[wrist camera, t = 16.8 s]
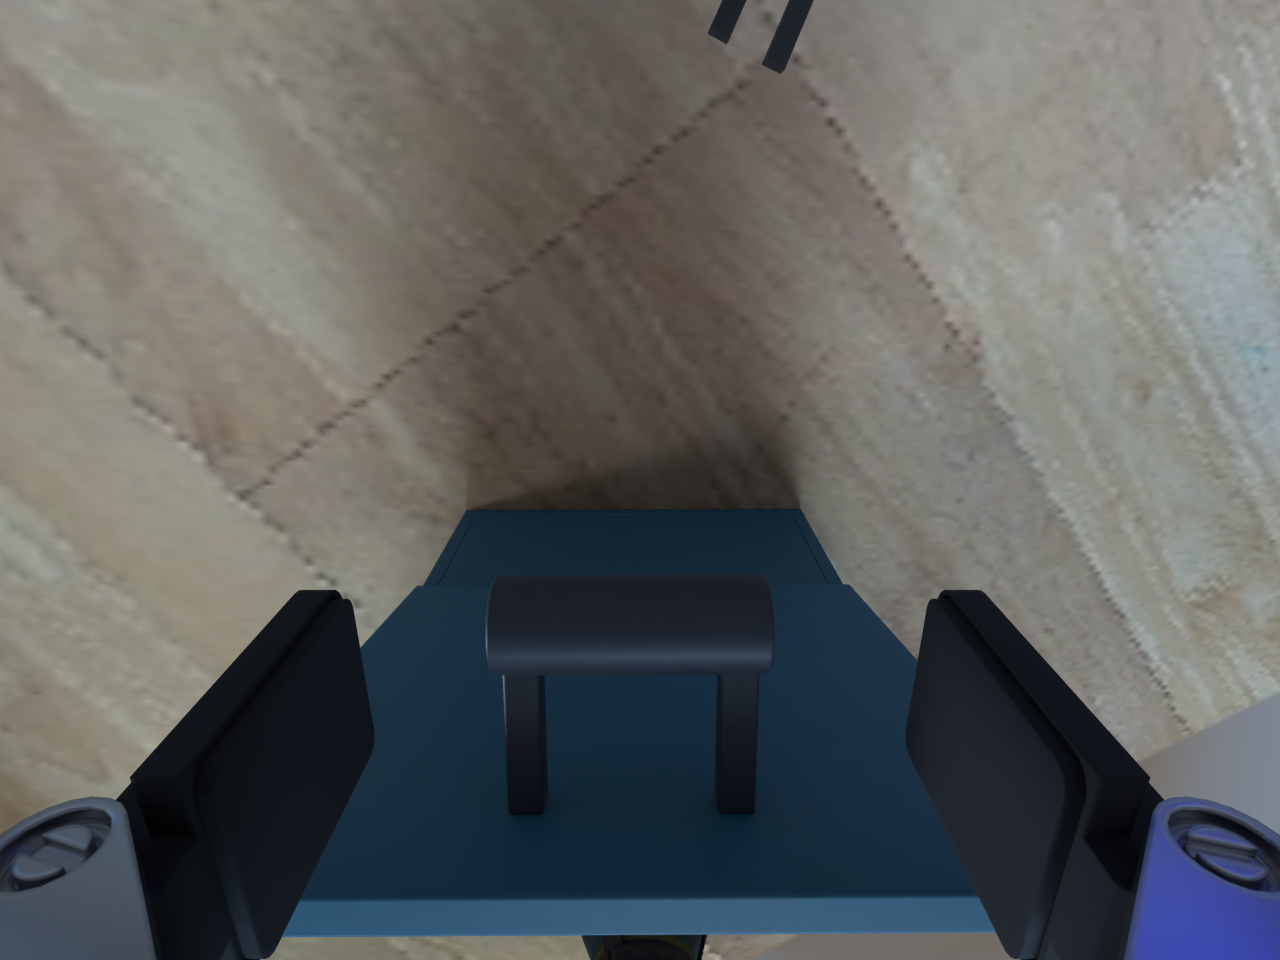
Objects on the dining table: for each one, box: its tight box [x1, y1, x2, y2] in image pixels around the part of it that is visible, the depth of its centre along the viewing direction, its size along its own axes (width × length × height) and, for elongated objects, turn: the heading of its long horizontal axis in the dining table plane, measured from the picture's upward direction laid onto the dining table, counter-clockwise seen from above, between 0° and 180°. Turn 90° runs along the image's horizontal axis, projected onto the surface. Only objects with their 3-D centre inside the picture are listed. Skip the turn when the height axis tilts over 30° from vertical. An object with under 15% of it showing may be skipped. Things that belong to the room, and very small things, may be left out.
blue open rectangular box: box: [423, 509, 843, 586], centre depth 33 cm, size 14×16×8 cm
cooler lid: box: [282, 575, 996, 937], centre depth 18 cm, size 15×16×5 cm
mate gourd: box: [582, 934, 707, 960], centre depth 37 cm, size 7×8×10 cm
